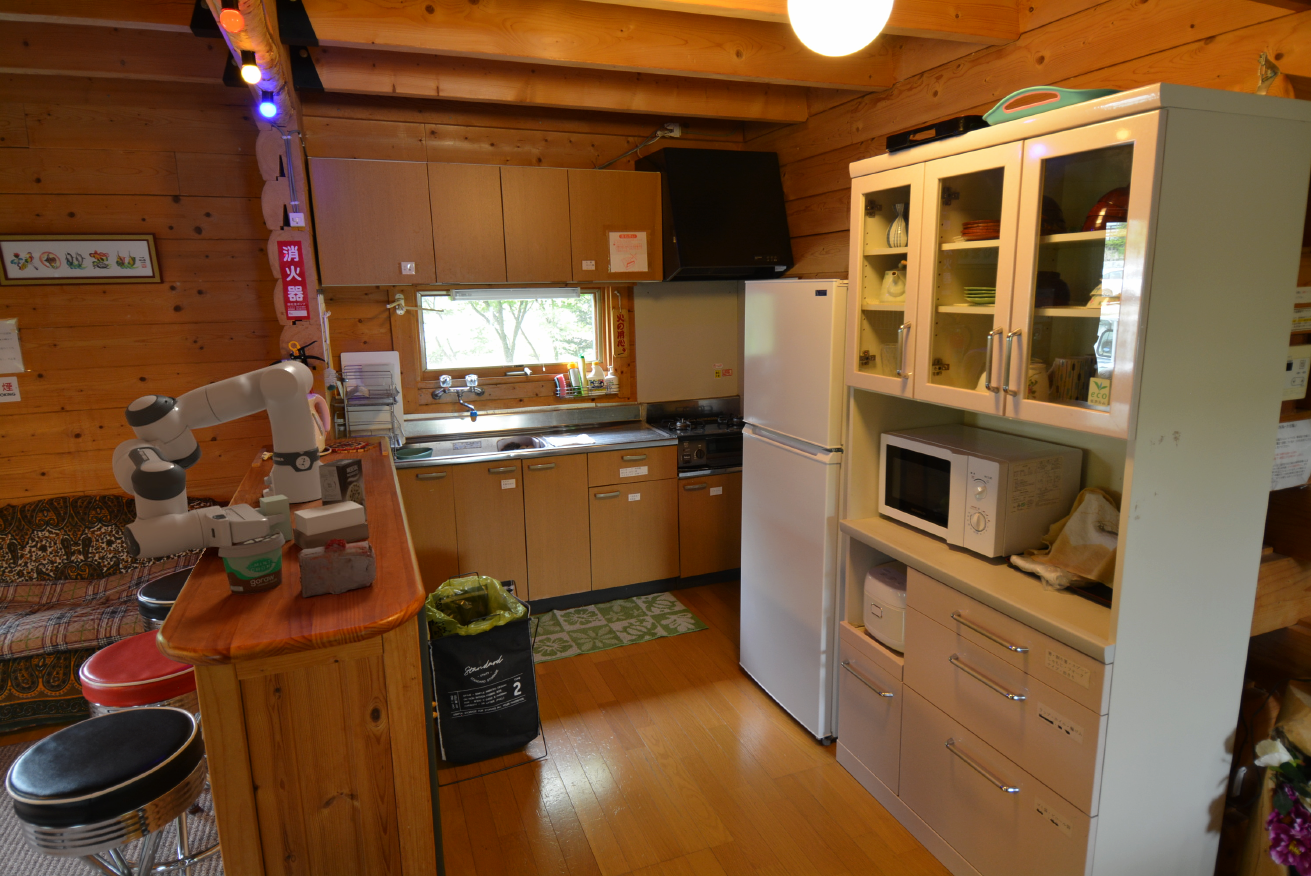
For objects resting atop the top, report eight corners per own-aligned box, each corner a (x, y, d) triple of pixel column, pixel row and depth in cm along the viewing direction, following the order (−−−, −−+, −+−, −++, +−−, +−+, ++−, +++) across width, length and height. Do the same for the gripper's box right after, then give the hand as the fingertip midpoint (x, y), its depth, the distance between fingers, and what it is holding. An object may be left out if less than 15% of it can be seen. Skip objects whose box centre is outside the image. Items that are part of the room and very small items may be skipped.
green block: (264, 539, 177) (259, 498, 176) (286, 534, 181) (282, 494, 179) (270, 544, 174) (265, 502, 172) (293, 539, 177) (288, 498, 175)
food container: (241, 601, 139) (234, 550, 138) (223, 595, 143) (216, 545, 141) (302, 580, 150) (297, 532, 148) (284, 575, 153) (278, 528, 151)
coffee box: (347, 530, 183) (340, 465, 180) (323, 529, 184) (316, 465, 181) (368, 519, 191) (362, 458, 189) (346, 518, 193) (339, 457, 190)
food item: (374, 575, 152) (370, 528, 150) (379, 588, 145) (374, 539, 143) (300, 588, 146) (295, 539, 144) (301, 602, 139) (295, 551, 137)
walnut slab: (294, 544, 174) (292, 528, 173) (355, 531, 183) (353, 515, 182) (307, 553, 167) (305, 536, 167) (369, 539, 177) (367, 523, 176)
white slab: (296, 528, 173) (294, 511, 173) (352, 516, 182) (350, 500, 181) (307, 535, 167) (305, 518, 167) (365, 523, 176) (363, 506, 175)
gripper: (205, 530, 176) (269, 517, 185) (225, 550, 161) (293, 535, 170) (202, 504, 175) (266, 493, 184) (221, 521, 160) (290, 508, 169)
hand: (279, 513), depth 177 cm, fingers open, 6 cm apart
